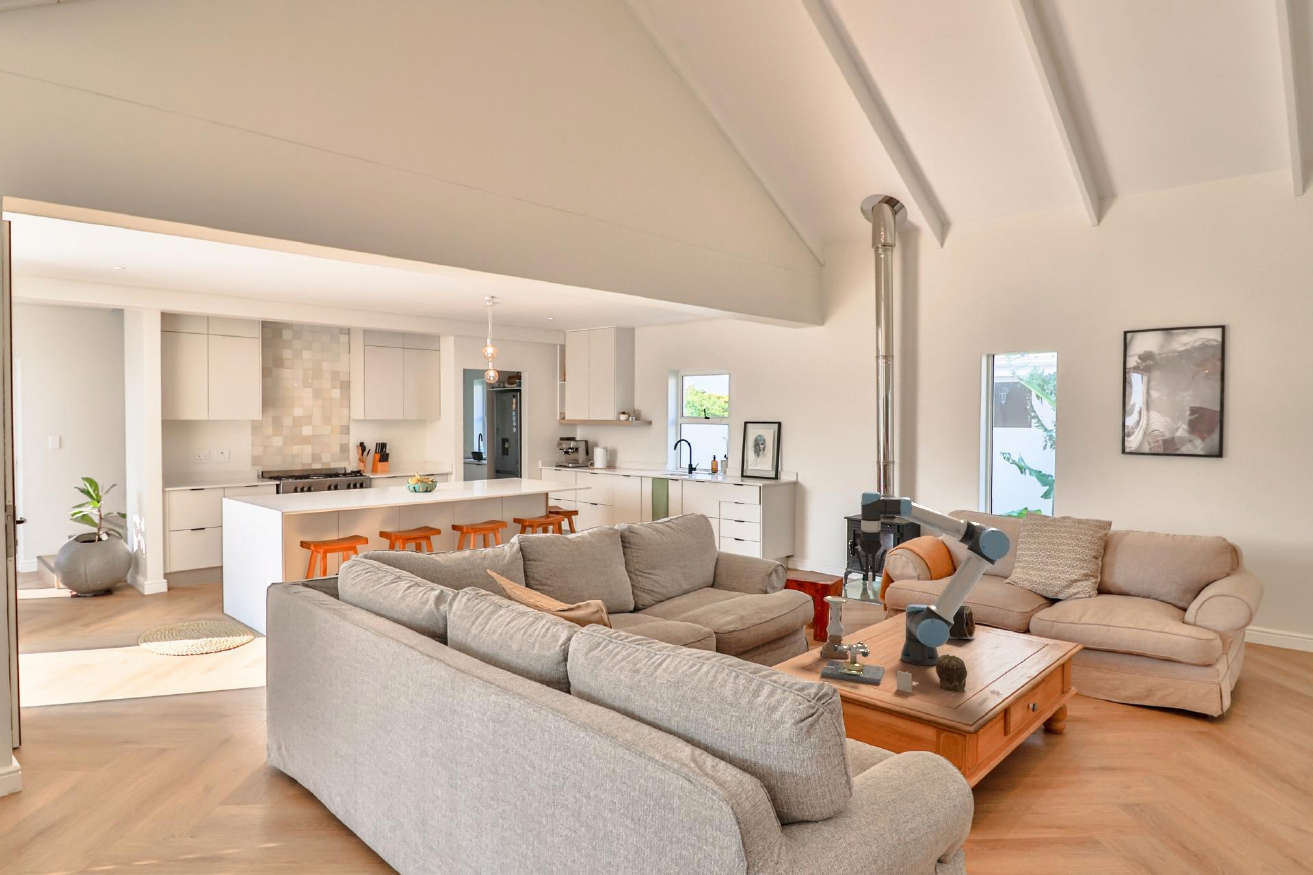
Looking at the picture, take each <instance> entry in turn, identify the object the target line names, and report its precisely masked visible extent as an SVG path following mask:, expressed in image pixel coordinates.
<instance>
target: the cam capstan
mask: <svg viewBox="0 0 1313 875" xmlns="http://www.w3.org/2000/svg"><path fill="white" fill-rule="evenodd" d="M832 649H833V651H835V652H836V651H848V652H849V653H850V655H849V658H850V660H845V661H843V662H844V663H843V670H844V669H847V670H848V671H855V672H862V673H863V672H864V666H865V665H866V664H865V663H864V662H862V661H859V660H858V658H857V656H858V655H861V656H862V658H863V657H864V658H867V657H869V655H870V654H871V651H870V650H869V649H868V645H866V644H864V643H863V642H862V641H859V642H857V644H852V643H850V644H848V645H847V646H846V647H840V646H836V645H834V646H833V647H832Z"/></svg>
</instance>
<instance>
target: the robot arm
mask: <svg viewBox="0 0 1313 875" xmlns="http://www.w3.org/2000/svg"><path fill="white" fill-rule="evenodd" d="M860 500H861V502H860V504H861V506H860V509H861V510H860V511H861V514H860V515H861V516H860V517H861V518H860V519H861V520H860V521H861V522H860V524H861V525H860V530H861V531H860V543H859V545H858V546H855V547H854V552H855V553H856V555H857V559H858V563H859V568H860V572H863V573H865V582H868V583H867V584H868V585H867V591H873V589H874V583H875V582H876V578H877V575H876V574H878V573H880V572H881V570H882V566H883V561H884V559H885V554H886V553H887V552H888V548H885V547H884V546H883V545H882V542H881V539H882V538H881V528H882V527H881V526H882V525H881V524H882V523H881V518H882V517H899V518H900V519H901V518H902V519H904V520H907V521H908V522H909V521H910V522H912V523H915V524H917V525H921V526H923V527H926V528H928V529H931V530H933V531H936V532H939V533H941V534H944V535H947V536H950V537H952V538H954V540H955V541H956V542H959V543H961V544H963V545H965V546H967V547H966V549H965V550H966V554H967V555H966V556H965V558H964V559H963V560H962V562H961V563H960V565H959V566H958V568H957V569H956V571H955V573H954V574H953V575H952V577H951V578H950V580H948V583H947V584H946V585H945V587H944V588H943V590H942V591H941V593H940V595H939V596H938V597H937V599H936V600H935V601H934V603H933V604H929V605H928V604H909V605H907V606H906V608H905V640H904V644H903V647H902V649H901V651H900V660H902V662H905V663H908V664H911V665H916V666H936V662H937V660H938V658H939V657H940V656H939V653H938V650H937V648H939V647H942V646H944V645H945V644H946V643H947V642H948V640H949V634H950V633H949V630H950V628H951V627H952V625H953V624H954V621H953V616H954V615H955V613H956V612H957V611H958V609H959V608H960V606H963V603H964V602H965V600H967V598H968V596H969V595H970V593H971V592H972V590H973V589H974V587H975V586H976V584H977V583H978V581H979V580H980V579H981V577H982V575H984V573H985V571H986V570H987V569H988V568H992V567H994V566H995V564H997V562H998V560H1001V559H1003V558H1005V557H1006V556H1007V555H1008V553H1009V552H1010V548H1011V542H1010V539H1009V537H1008V535H1007V533H1005V532H1004V531H1002V530H1001V529H999V528H997V527H994V526H991V525H989V524H985V523H979V522H975V521H971V520H968V519H966V518H964V519H958V518H955V517H953V516H950V515H948V514H944V513H941V512H940V511H936V510H934V509H931V508H929V507H925V506H924V505H923V506H922V505H920V504H917V503H915V502H912V499H911V498H910V497H904V496H902V497H900V496H896V495H893V494H891V493H883V494H881V493H880V492H879V491H865V492H862V493H861V499H860ZM861 551H863V552H864V553H865V562H864V561H863V556H862V552H861ZM878 552H880V553H881V554H880V557H879V560H878V565H877V553H878ZM870 555H871V572H870ZM864 563H865V565H864Z"/></svg>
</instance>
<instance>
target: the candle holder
mask: <svg viewBox="0 0 1313 875" xmlns="http://www.w3.org/2000/svg"><path fill="white" fill-rule="evenodd" d="M823 601H824V602H826V603H829V606H830V607H831V610H830V611H829V613H828V614H829V615H830V617H831V620H830V622H829V623H828V625H827V627H826V632H827V634H829V635H828V636H827V639H828V641H827V642H823V645H821V657H823V658H829V659H830V658H831V659H842V660H843V659H844V660H848V659H849V658H850V655H849V653H850V652H849V651H836V652H835V651H833V649H832V647H833V646H834V645H836V646H840V647H847V644H845V643H843V642H842V641H843V640H844V639H843V636H842V635H843V634H844V633H845V628H844V626H843V624H842V623H841V620H840V619H841V616H842V615H843V614H842V612H841V606H843V604H847V603H849V599H848V598H847V597H845V596H839V595H838V596H837V595H829V596H825V597H823Z"/></svg>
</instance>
